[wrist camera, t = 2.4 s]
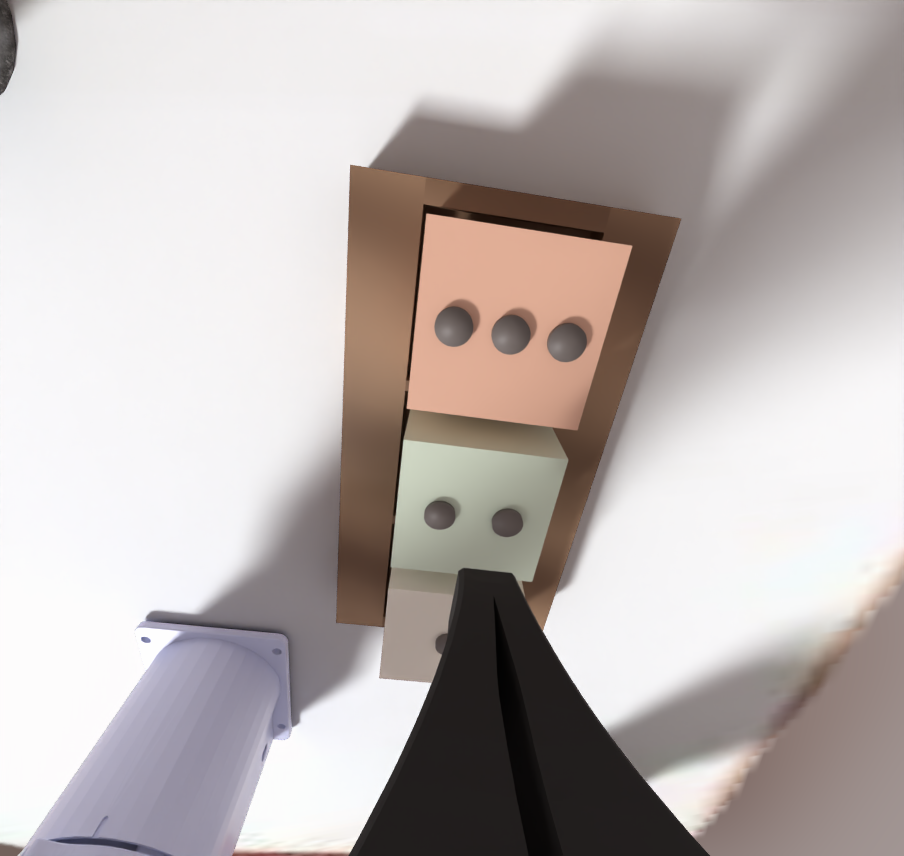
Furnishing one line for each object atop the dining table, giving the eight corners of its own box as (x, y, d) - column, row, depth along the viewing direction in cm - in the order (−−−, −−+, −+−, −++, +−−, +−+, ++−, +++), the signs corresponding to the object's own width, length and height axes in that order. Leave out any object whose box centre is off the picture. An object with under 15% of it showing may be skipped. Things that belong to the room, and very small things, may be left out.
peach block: (553, 391, 15) (579, 433, 12) (415, 373, 15) (406, 411, 12) (592, 241, 13) (635, 246, 10) (431, 216, 13) (426, 213, 10)
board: (531, 608, 23) (538, 641, 21) (345, 590, 22) (336, 622, 20) (652, 219, 15) (681, 218, 13) (363, 172, 14) (350, 164, 12)
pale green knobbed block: (518, 524, 18) (533, 586, 15) (400, 510, 17) (389, 571, 14) (546, 416, 16) (570, 463, 13) (412, 399, 15) (402, 442, 12)
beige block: (493, 623, 20) (500, 693, 17) (389, 613, 20) (378, 683, 17) (514, 542, 18) (526, 606, 15) (398, 529, 18) (387, 592, 15)
